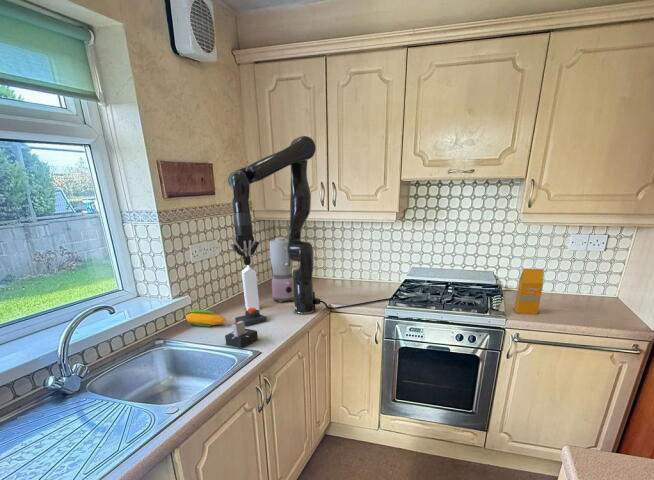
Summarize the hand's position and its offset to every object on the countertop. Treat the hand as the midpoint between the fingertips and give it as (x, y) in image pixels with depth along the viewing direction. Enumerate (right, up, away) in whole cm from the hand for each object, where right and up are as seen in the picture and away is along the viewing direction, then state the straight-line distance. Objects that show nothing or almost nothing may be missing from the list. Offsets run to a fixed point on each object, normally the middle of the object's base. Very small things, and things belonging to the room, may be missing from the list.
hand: (247, 264), depth 180 cm
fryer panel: (+1, -35, -16) cm, 39 cm away
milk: (-3, -16, +25) cm, 30 cm away
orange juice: (+130, -19, +14) cm, 132 cm away
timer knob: (+1, -33, -20) cm, 38 cm away
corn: (-19, -27, +3) cm, 33 cm away
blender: (+12, -10, +38) cm, 41 cm away
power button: (+1, -20, +8) cm, 21 cm away
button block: (0, -24, +7) cm, 25 cm away
